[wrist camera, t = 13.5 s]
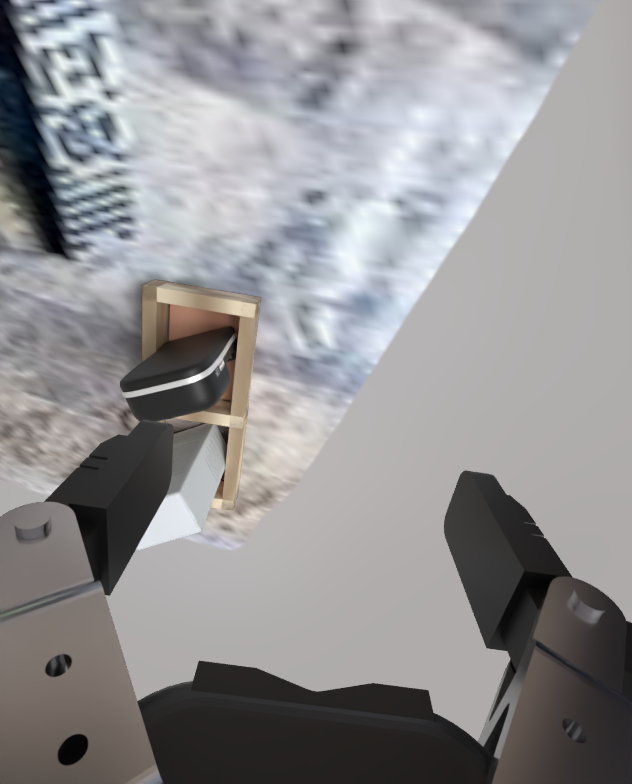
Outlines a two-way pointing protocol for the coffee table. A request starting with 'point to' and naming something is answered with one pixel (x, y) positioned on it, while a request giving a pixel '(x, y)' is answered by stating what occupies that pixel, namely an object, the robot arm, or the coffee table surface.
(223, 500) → the slot organizer
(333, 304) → the coffee table surface
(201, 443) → the skincare box
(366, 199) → the coffee table surface
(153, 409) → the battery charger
